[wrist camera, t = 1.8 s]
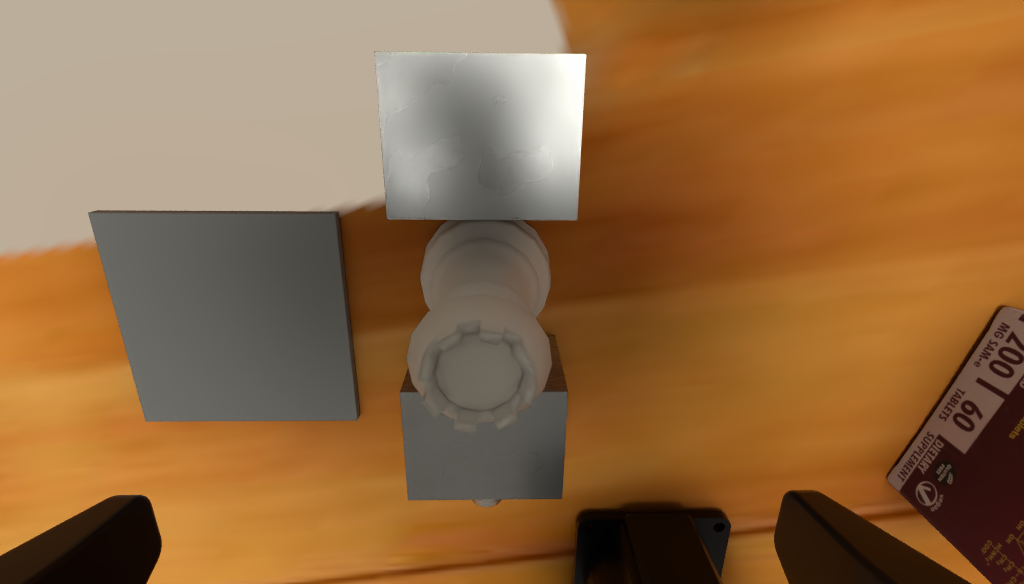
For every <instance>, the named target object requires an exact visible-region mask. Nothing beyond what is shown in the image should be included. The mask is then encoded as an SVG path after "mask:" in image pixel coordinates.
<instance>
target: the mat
mask: <svg viewBox="0 0 1024 584" xmlns="http://www.w3.org/2000/svg"><path fill="white" fill-rule="evenodd" d="M88 214H89V217H90V221H91V225H92V229H93V232H94V236H95V240H96V243H97V247H98V250H99V254H100V258H101V261H102V265H103V269H104V272H105V276H106V279H107V283H108V287H109V290H110V294H111V298H112V301H113V305H114V308H115V312H116V316H117V319H118V323H119V327H120V330H121V334H122V337H123V341H124V345H125V348H126V352H127V355H128V359H129V363H130V366H131V370H132V374H133V377H134V381H135V384H136V388H137V392H138V395H139V399H140V403H141V406H142V410H143V413H144V417H145V421H343V420H358V418H359V416H360V409H359V399H358V390H357V381H356V371H355V362H354V353H353V343H352V334H351V325H350V315H349V306H348V297H347V287H346V278H345V269H344V259H343V250H342V241H341V232H340V222H339V213H338V212H295V211H282V212H281V211H100V210H97V211H93V212H90V213H88Z"/></svg>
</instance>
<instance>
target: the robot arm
mask: <svg viewBox="0 0 1024 584" xmlns="http://www.w3.org/2000/svg"><path fill="white" fill-rule="evenodd" d="M716 523H719V524H716ZM587 524H592V525H591V526H585V525H587ZM715 524H716V525H715ZM730 528H731V524H730V522H729V520H728V518H727V516H726V515H725V513H723V512H721V511H657V512H587V513H583V514H581V515H580V516H579V517H578V518H577V521H576V534H575V549H574V564H573V579H572V584H723V582H722V580H721V574H722V568H723V563H724V558H725V553H726V548H727V543H728V538H729V533H730ZM774 543H775V548H776V552H777V555H778V557H779V560H780V562H781V565H782V567H783V570H784V572H785V575H786V577H787V580H788V582H789V584H971V583H969V582H968V581H966V580H964V579H963V578H961V577H959V576H958V575H956V574H954V573H953V572H951V571H950V570H948V569H946V568H945V567H943V566H941V565H940V564H938V563H936V562H935V561H933V560H931V559H930V558H928V557H926V556H925V555H923V554H921V553H920V552H918V551H916V550H915V549H913V548H911V547H910V546H908V545H907V544H905V543H903V542H902V541H900V540H898V539H897V538H895V537H893V536H892V535H890V534H888V533H887V532H885V531H883V530H882V529H880V528H878V527H877V526H875V525H873V524H872V523H870V522H869V521H867V520H865V519H864V518H862V517H860V516H859V515H857V514H855V513H854V512H852V511H850V510H849V509H847V508H845V507H844V506H842V505H840V504H839V503H837V502H835V501H834V500H832V499H831V498H829V497H827V496H826V495H824V494H822V493H820V492H818V491H814V490H791V491H788V492H787V493H786V494H785V495H784V496H783V499H782V503H781V508H780V512H779V516H778V520H777V525H776V529H775V534H774ZM161 547H162V540H161V536H160V532H159V529H158V525H157V522H156V518H155V515H154V511H153V508H152V504H151V502H150V500H149V499H148V498H147V497H146V496H142V495H117V496H112V497H110V498H107V499H105V500H104V501H102V502H100V503H98V504H96V505H94V506H92V507H91V508H89V509H87V510H85V511H83V512H81V513H79V514H77V515H76V516H74V517H72V518H70V519H68V520H66V521H64V522H62V523H61V524H59V525H57V526H55V527H53V528H51V529H49V530H47V531H46V532H44V533H42V534H40V535H38V536H36V537H34V538H33V539H31V540H29V541H27V542H25V543H23V544H21V545H19V546H18V547H16V548H14V549H12V550H10V551H8V552H6V553H4V554H3V555H1V556H0V584H146V583H147V581H148V579H149V577H150V575H151V573H152V571H153V569H154V567H155V565H156V563H157V561H158V559H159V556H160V552H161Z"/></svg>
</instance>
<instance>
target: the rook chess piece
mask: <svg viewBox="0 0 1024 584" xmlns="http://www.w3.org/2000/svg"><path fill="white" fill-rule="evenodd" d="M550 277H551V273H550V265H549V256H548V251H547V249H546V247H545V246H544V244H543V242H542V241H541V239H540V237H539V235H538V234H537V232H536V230H535V229H533V228H532V227H531V226H529V225H528V224H527V223H525V222H524V221H522V220H449V221H447V222H446V223H444V224H442V225H441V226H440V227H439V229H438V230H437V232H436V233H435V234H434V236H433V237H432V239H431V240H430V241H429V243H428V244H427V246H426V250H425V255H424V260H423V265H422V269H421V274H420V281H421V285H422V290H423V295H424V299H425V303H426V305H427V306H428V308H429V309H430V311H429V312H428V313H427V314H426V315H425V317H424V318H423V319H422V321H421V322H420V323H419V325H418V326H417V327H416V329H415V330H414V331H413V333H412V335H411V340H410V344H409V349H408V354H407V363H408V367H409V372H410V376H411V380H412V384H413V385H414V386H415V388H416V389H417V390H418V392H419V393H420V394H421V396H422V397H423V399H422V403H423V404H424V405H425V407H426V408H427V409H428V411H429V412H430V413H431V415H432V416H433V417H434V418H436V417H437V416H439V415H440V414H441V413H443V414H445V415H446V416H448V417H450V418H453V419H455V425H454V430H455V431H460V432H465V433H470V434H475V435H476V428H477V423H485V422H492V421H494V422H495V425H496V427H497V429H498V432H499V431H501V430H503V429H505V428H507V427H509V426H511V425H513V424H515V423H517V422H518V412H520V411H522V410H524V409H526V408H528V407H529V406H530V405H533V402H534V400H535V399H536V398H537V396H538V395H539V394H540V393H541V392H542V391H543V390H544V388H545V385H546V382H547V379H548V376H549V373H550V369H551V366H552V360H551V352H550V344H549V339H548V337H547V335H546V334H545V332H544V331H543V329H542V327H541V326H540V324H539V323H538V321H537V319H536V317H537V316H538V314H539V313H540V312H541V311H542V310H543V308H544V306H545V303H546V299H547V296H548V293H549V289H550V286H551V278H550Z"/></svg>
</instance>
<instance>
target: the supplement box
mask: <svg viewBox="0 0 1024 584" xmlns="http://www.w3.org/2000/svg"><path fill="white" fill-rule="evenodd" d="M887 479H888V482H889V483H890V484H891V485H892V486H893V487H894V488H895V489H896V490H897V491H898V492H899V493H900V494H901V495H902V496H903V497H905V498H906V499H907V500H908V501H909V502H910V503H911V504H912V505H913V506H914V507H915V508H916V509H917V510H918V511H919V512H920V513H921V514H922V515H923V516H924V517H925V518H926V519H927V520H928V521H929V522H930V523H931V524H932V525H933V526H934V527H935V528H936V529H937V530H938V531H939V532H940V533H941V534H942V535H943V536H944V537H945V538H946V539H947V540H948V541H949V542H950V543H951V544H952V545H953V546H954V547H955V548H956V549H957V550H958V551H959V552H960V553H961V554H962V555H963V556H964V557H965V558H967V559H968V560H969V562H970V563H971V564H972V565H973V566H974V567H975V568H976V569H977V570H978V571H979V572H980V573H982V574H983V575H984V576H985V577H986V578H987V579H988V580H989V581H990V582H991V583H992V584H1024V311H1022V310H1019V309H1016V308H1012V307H1003V308H1002V309H1001V310H1000V311H999V313H998V314H997V316H996V317H995V319H994V320H993V323H992V325H991V327H990V329H989V331H988V332H987V333H986V335H985V337H984V338H983V340H982V341H981V343H980V344H979V346H978V347H977V349H976V350H975V352H974V353H973V355H972V356H971V358H970V359H969V361H968V362H967V364H966V365H965V367H964V368H963V370H962V371H961V373H960V374H959V376H958V377H957V379H956V380H955V382H954V383H953V385H952V386H951V388H950V389H949V391H948V392H947V394H946V395H945V397H944V398H943V400H942V401H941V403H940V404H939V406H938V407H937V409H936V410H935V412H934V413H933V414H932V416H931V417H930V419H929V420H928V422H927V423H926V425H925V426H924V428H923V429H922V431H921V432H920V434H919V435H918V436H917V438H916V439H915V440H914V442H913V443H912V445H911V446H910V448H909V449H908V450H907V452H906V453H905V455H904V456H903V457H902V459H901V460H900V462H899V463H898V464H897V465H896V466H895V467H894V468H893V470H892V471H891V473H890V474H889V475H888V478H887Z"/></svg>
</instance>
